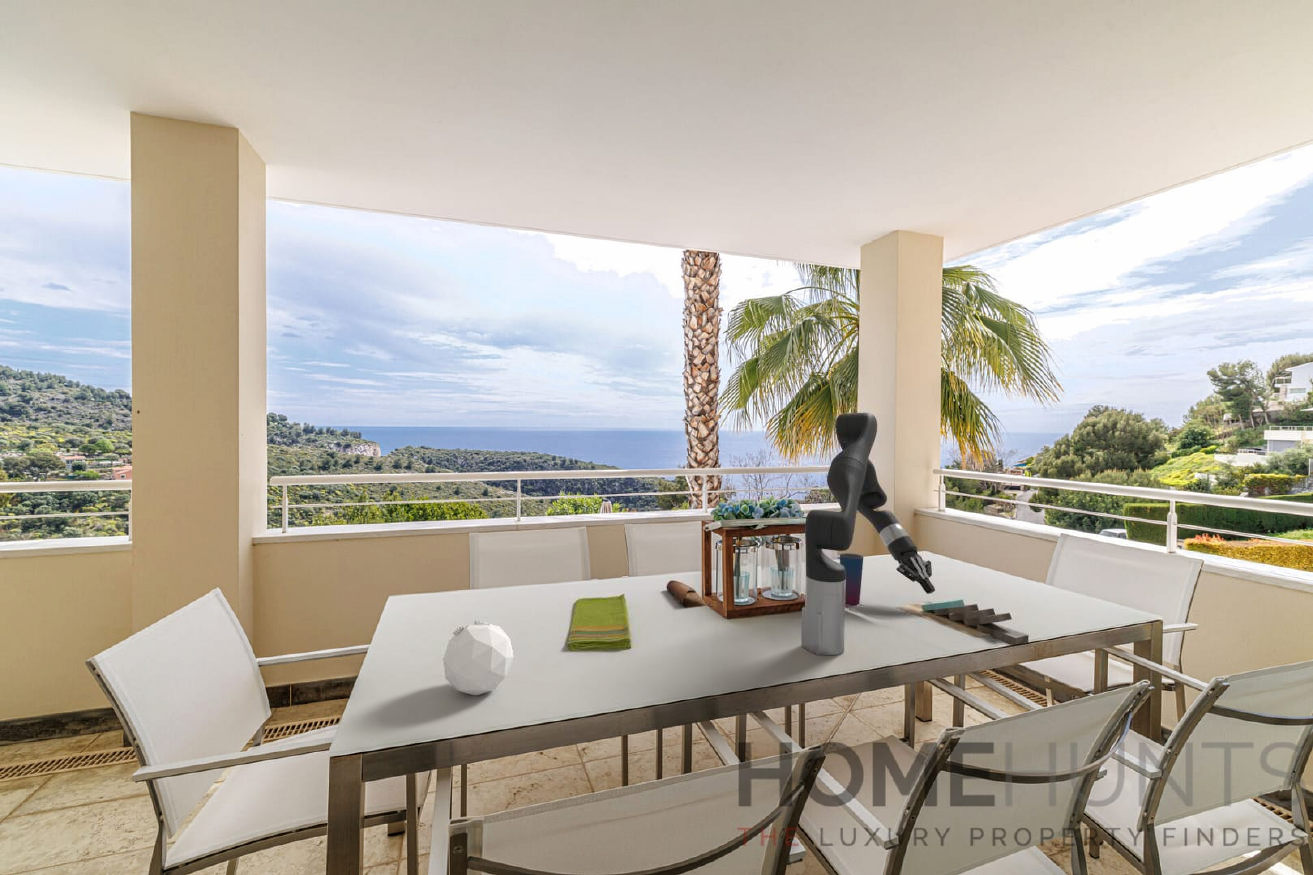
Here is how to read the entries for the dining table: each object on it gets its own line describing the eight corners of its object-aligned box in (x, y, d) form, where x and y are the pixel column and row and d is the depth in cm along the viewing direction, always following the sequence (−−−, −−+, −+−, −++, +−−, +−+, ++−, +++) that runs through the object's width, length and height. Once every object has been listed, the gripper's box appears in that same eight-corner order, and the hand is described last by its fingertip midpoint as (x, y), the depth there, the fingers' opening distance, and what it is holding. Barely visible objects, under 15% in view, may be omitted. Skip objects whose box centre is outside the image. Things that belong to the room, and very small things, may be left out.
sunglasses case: (709, 605, 163) (699, 587, 162) (690, 619, 162) (679, 600, 161) (690, 588, 181) (681, 571, 180) (672, 600, 179) (663, 583, 178)
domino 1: (922, 610, 159) (952, 607, 150) (921, 605, 159) (950, 601, 151) (934, 608, 161) (964, 605, 152) (933, 602, 161) (962, 599, 153)
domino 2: (935, 615, 155) (966, 612, 146) (933, 609, 155) (964, 606, 147) (947, 613, 157) (978, 610, 149) (945, 607, 158) (976, 604, 149)
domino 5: (976, 630, 144) (1015, 644, 135) (977, 624, 144) (1015, 637, 135) (989, 627, 146) (1028, 641, 137) (989, 621, 146) (1028, 634, 137)
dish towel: (566, 652, 130) (566, 639, 129) (574, 604, 165) (575, 593, 165) (631, 651, 131) (632, 637, 131) (626, 603, 167) (626, 592, 166)
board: (976, 641, 139) (976, 637, 139) (896, 610, 162) (896, 607, 162) (1011, 633, 145) (1011, 629, 145) (929, 604, 168) (929, 601, 168)
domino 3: (950, 620, 151) (983, 617, 142) (948, 614, 151) (980, 610, 143) (962, 618, 153) (995, 614, 144) (960, 612, 153) (993, 608, 145)
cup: (858, 610, 161) (859, 559, 161) (835, 605, 165) (836, 556, 165) (865, 604, 167) (866, 555, 166) (842, 600, 171) (843, 552, 170)
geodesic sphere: (432, 688, 98) (480, 618, 103) (415, 661, 109) (458, 599, 114) (495, 717, 105) (536, 651, 110) (472, 689, 116) (511, 630, 121)
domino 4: (965, 625, 147) (999, 621, 138) (963, 619, 147) (997, 615, 139) (977, 623, 149) (1012, 619, 141) (975, 616, 149) (1009, 612, 141)
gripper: (889, 536, 164) (923, 588, 154) (920, 533, 170) (955, 583, 159) (875, 550, 169) (907, 601, 159) (905, 546, 175) (939, 596, 164)
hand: (931, 592), depth 159 cm, fingers closed
